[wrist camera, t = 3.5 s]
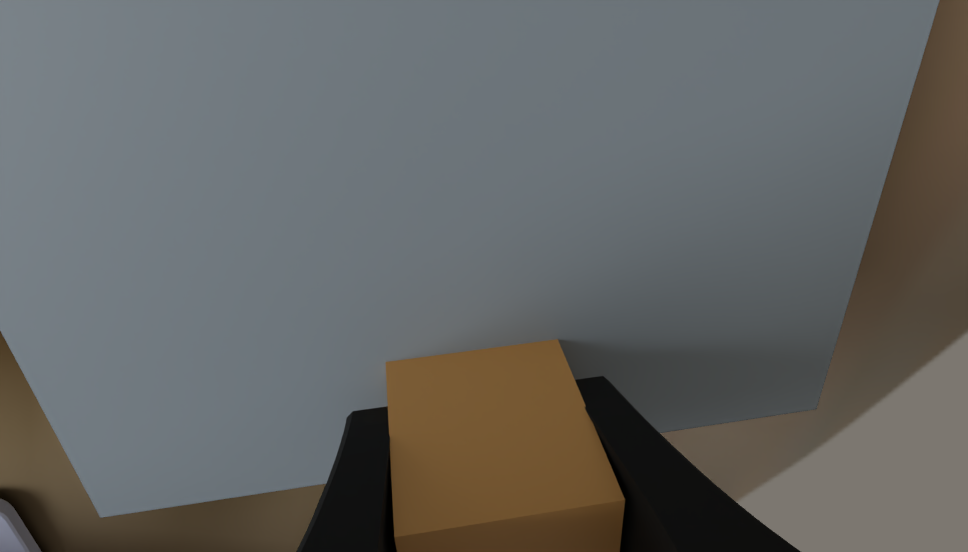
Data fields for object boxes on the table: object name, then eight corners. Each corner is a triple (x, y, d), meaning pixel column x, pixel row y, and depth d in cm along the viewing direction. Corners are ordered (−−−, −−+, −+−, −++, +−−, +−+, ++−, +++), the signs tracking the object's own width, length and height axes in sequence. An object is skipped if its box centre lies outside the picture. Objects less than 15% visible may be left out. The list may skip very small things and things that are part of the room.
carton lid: (109, 495, 12) (15, 728, 9) (-336, -376, 6) (-1188, -675, 3) (802, 392, 14) (941, 558, 11) (1022, -388, 8) (1540, -591, 4)
